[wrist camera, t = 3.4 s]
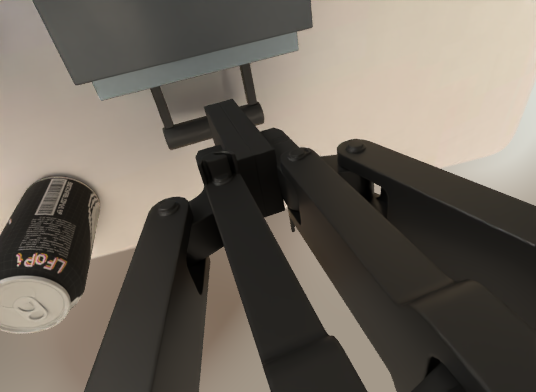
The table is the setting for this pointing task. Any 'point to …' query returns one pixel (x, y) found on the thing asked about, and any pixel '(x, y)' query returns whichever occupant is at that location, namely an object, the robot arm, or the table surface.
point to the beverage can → (46, 254)
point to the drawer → (192, 68)
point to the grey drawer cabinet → (159, 30)
